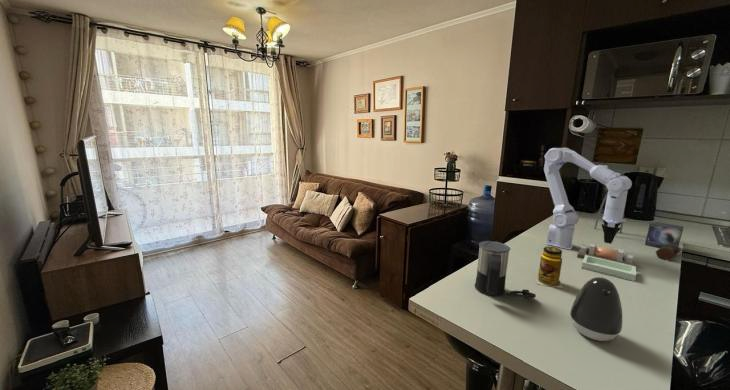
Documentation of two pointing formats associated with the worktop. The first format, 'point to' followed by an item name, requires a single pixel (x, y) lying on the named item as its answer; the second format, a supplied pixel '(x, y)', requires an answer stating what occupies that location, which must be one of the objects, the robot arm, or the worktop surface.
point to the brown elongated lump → (668, 252)
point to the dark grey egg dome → (598, 310)
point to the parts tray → (609, 267)
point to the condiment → (550, 267)
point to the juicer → (601, 210)
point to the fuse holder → (584, 250)
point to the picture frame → (663, 234)
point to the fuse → (606, 252)
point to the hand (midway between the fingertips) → (608, 240)
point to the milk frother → (495, 270)
